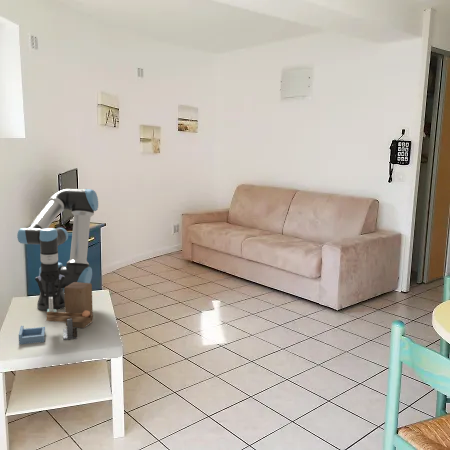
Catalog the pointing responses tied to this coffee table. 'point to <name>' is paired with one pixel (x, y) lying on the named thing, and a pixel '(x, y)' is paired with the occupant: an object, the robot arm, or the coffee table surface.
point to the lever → (68, 316)
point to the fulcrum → (69, 331)
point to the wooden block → (78, 300)
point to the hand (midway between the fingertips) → (51, 311)
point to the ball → (86, 314)
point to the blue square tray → (31, 335)
